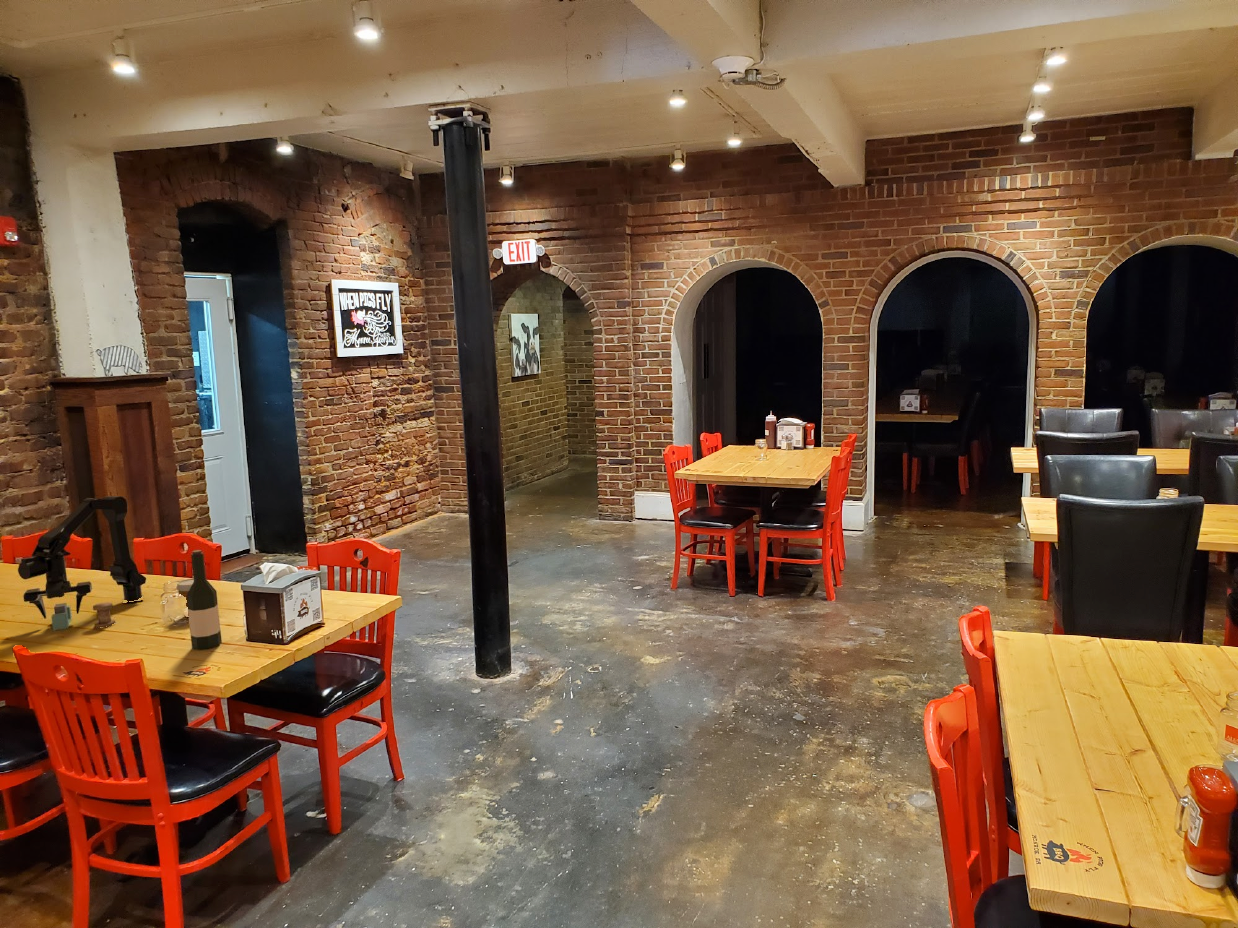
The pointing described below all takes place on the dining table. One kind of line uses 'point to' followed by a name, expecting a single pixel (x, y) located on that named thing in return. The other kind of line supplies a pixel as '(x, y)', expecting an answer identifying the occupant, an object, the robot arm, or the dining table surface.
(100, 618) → the spool
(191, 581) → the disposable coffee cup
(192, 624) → the wine bottle
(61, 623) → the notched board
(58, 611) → the grey upright block
